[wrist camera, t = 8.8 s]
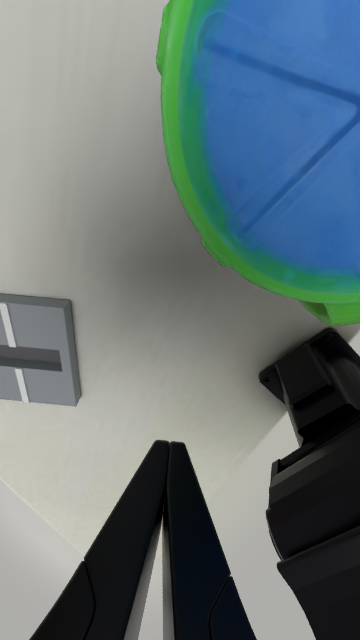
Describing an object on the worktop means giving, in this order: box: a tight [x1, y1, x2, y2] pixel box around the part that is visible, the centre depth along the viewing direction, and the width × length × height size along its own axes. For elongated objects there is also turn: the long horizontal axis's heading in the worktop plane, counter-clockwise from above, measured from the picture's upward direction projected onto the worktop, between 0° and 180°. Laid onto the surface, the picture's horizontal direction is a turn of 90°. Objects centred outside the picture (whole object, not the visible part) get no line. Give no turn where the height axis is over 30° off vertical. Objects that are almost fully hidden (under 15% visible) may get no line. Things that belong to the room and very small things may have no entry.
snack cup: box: [156, 0, 360, 326], centre depth 11 cm, size 16×10×10 cm
